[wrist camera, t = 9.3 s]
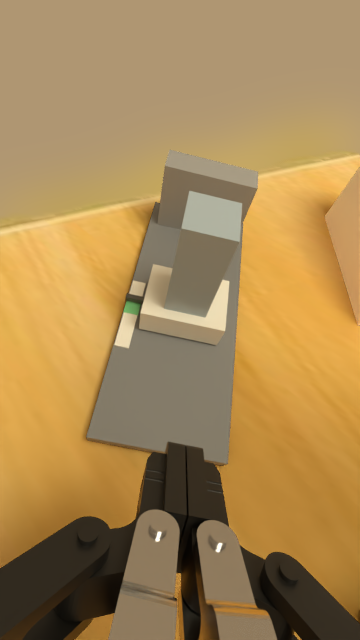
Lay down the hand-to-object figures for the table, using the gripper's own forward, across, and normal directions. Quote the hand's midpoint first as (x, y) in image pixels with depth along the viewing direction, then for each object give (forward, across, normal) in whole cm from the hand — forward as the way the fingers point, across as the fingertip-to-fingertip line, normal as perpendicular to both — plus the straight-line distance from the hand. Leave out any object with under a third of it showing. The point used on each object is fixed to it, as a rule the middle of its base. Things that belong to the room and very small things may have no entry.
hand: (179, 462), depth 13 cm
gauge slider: (+24, +1, -5) cm, 24 cm away
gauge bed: (+23, 0, -2) cm, 23 cm away
